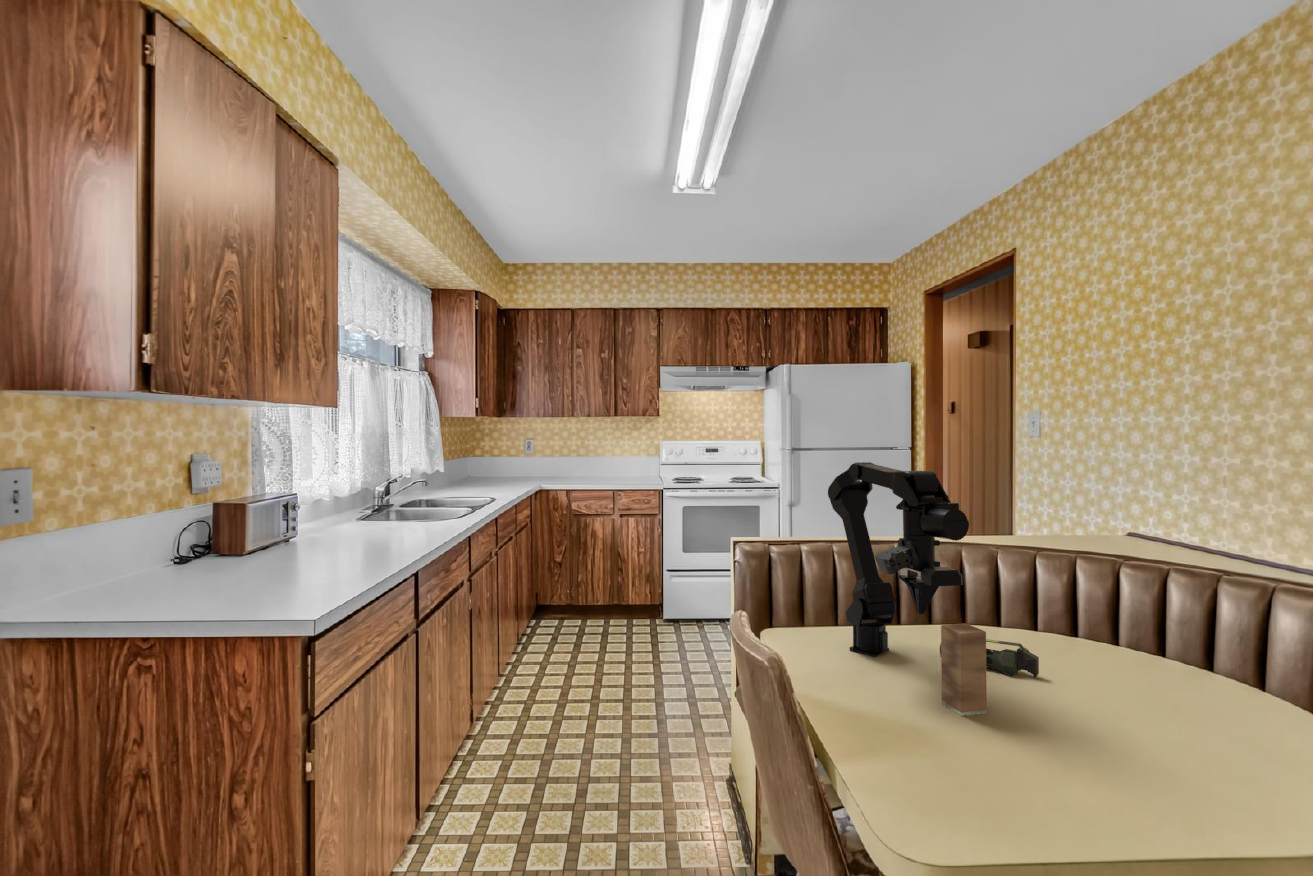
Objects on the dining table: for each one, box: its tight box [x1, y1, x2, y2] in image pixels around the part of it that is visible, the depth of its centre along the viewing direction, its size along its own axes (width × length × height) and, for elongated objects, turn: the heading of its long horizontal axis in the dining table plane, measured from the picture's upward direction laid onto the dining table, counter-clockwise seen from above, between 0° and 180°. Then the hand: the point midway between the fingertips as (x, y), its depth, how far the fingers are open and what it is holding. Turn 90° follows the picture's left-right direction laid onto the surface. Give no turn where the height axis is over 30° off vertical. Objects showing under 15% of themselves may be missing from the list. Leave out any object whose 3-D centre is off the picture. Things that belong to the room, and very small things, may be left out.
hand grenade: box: [939, 638, 1040, 679], centre depth 126 cm, size 6×5×18 cm
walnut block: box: [940, 622, 988, 717], centre depth 107 cm, size 5×5×14 cm
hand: (920, 613), depth 120 cm, fingers closed
